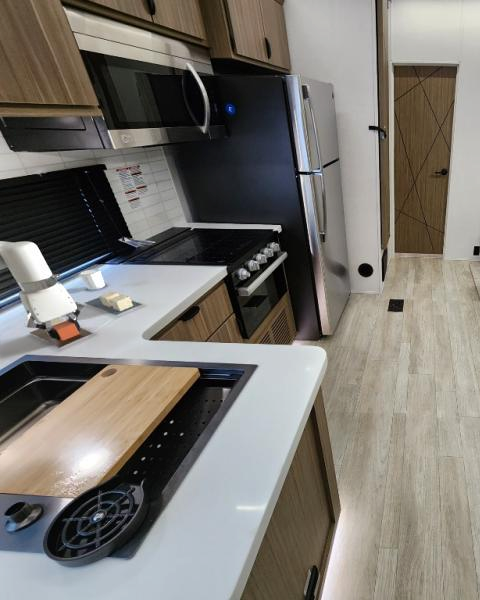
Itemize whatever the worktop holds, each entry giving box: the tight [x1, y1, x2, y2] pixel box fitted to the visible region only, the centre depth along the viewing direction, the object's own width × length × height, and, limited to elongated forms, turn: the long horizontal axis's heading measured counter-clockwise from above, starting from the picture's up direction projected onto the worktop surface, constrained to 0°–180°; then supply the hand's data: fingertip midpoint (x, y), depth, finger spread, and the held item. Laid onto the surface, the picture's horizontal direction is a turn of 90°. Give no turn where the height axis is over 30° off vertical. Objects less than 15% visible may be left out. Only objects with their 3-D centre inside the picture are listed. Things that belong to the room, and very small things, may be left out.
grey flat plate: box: [84, 296, 143, 316], centre depth 127 cm, size 22×9×1 cm, turn 64°
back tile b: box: [98, 290, 121, 307], centre depth 126 cm, size 4×4×4 cm
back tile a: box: [109, 294, 133, 311], centre depth 124 cm, size 4×4×4 cm
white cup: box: [78, 268, 106, 291], centre depth 140 cm, size 7×7×7 cm
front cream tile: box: [45, 317, 66, 334], centre depth 109 cm, size 4×4×4 cm
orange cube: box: [52, 320, 80, 341], centre depth 106 cm, size 4×4×4 cm
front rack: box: [29, 327, 94, 349], centre depth 110 cm, size 20×9×1 cm, turn 64°
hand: (67, 334), depth 107 cm, fingers closed on orange cube, 4 cm apart
